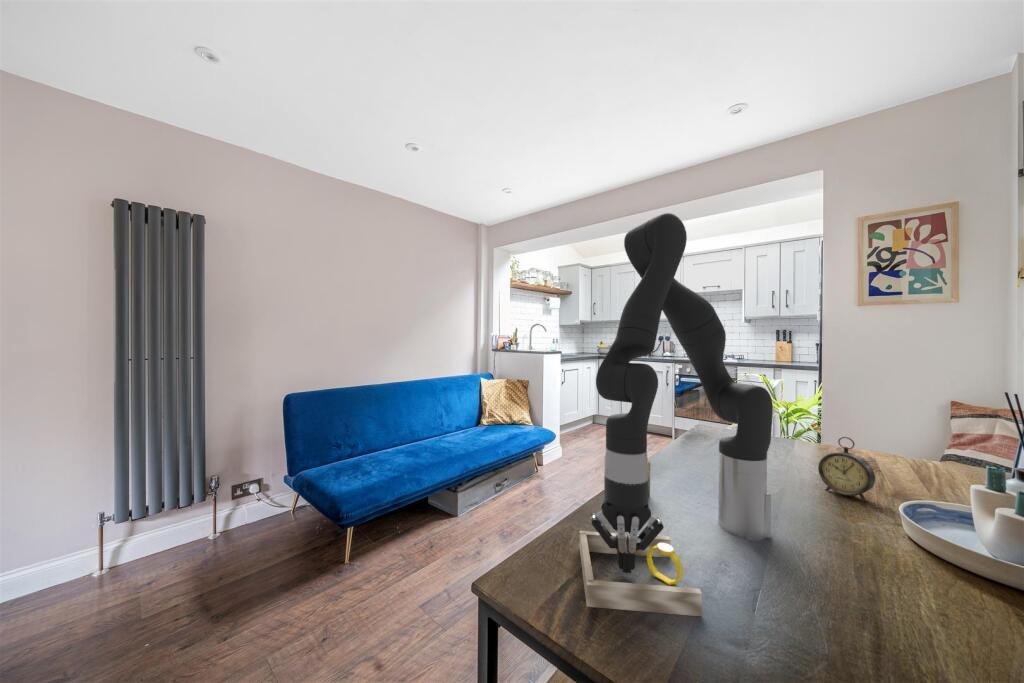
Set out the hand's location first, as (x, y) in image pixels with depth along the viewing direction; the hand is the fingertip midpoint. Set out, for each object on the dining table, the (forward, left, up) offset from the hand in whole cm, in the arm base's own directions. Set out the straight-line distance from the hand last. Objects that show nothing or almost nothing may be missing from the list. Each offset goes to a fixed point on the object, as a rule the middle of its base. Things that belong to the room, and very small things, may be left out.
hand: (625, 570), depth 65 cm
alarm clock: (-67, -42, -1) cm, 79 cm away
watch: (-7, 0, -1) cm, 7 cm away
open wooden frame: (-3, 0, -1) cm, 3 cm away
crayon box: (-10, -33, -1) cm, 34 cm away
